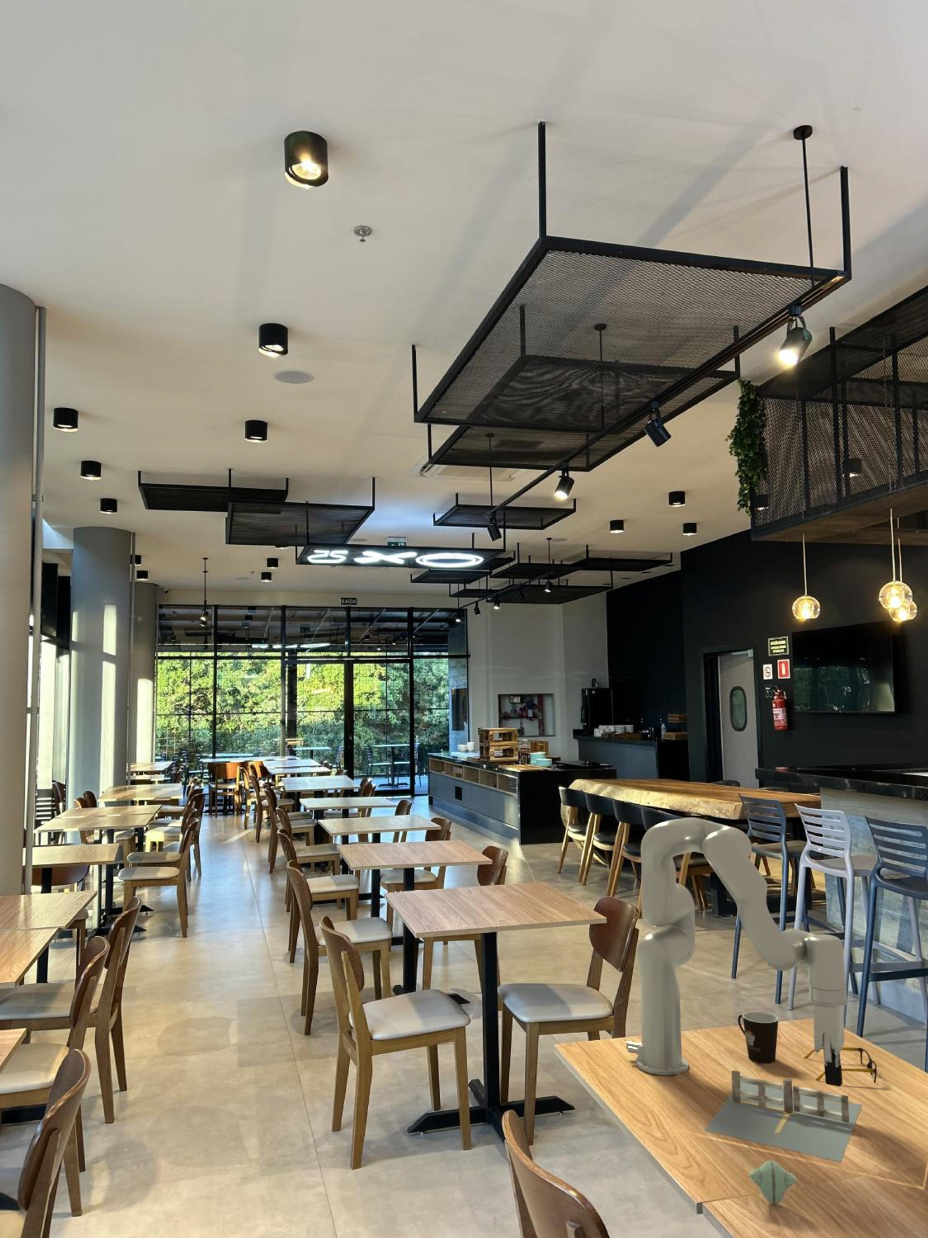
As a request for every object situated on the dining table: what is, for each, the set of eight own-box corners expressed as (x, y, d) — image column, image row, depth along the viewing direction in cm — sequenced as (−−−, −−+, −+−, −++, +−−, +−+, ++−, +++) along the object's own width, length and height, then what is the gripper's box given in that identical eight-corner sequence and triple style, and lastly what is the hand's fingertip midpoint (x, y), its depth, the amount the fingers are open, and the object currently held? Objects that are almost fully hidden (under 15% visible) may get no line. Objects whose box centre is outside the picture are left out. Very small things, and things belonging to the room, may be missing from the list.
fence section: (731, 1101, 196) (730, 1071, 197) (733, 1098, 198) (732, 1068, 198) (792, 1114, 190) (790, 1082, 190) (793, 1111, 191) (792, 1080, 192)
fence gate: (793, 1111, 190) (792, 1087, 190) (794, 1109, 191) (794, 1085, 191) (848, 1123, 184) (847, 1098, 185) (849, 1120, 185) (848, 1096, 186)
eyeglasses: (881, 1086, 206) (880, 1068, 207) (815, 1082, 209) (815, 1064, 209) (865, 1064, 220) (864, 1047, 221) (803, 1060, 223) (803, 1043, 223)
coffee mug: (785, 1065, 218) (783, 1023, 219) (749, 1065, 218) (748, 1022, 219) (769, 1048, 230) (767, 1008, 231) (736, 1048, 230) (734, 1008, 231)
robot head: (750, 1207, 154) (749, 1165, 155) (748, 1195, 158) (746, 1154, 159) (799, 1212, 152) (797, 1170, 153) (795, 1200, 156) (793, 1159, 157)
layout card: (704, 1132, 182) (704, 1129, 182) (741, 1082, 208) (741, 1080, 208) (840, 1164, 169) (840, 1161, 169) (861, 1107, 194) (861, 1104, 194)
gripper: (815, 984, 202) (821, 1070, 200) (803, 1001, 189) (809, 1093, 187) (851, 988, 198) (857, 1076, 196) (841, 1006, 186) (847, 1100, 183)
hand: (834, 1084), depth 191 cm, fingers closed
